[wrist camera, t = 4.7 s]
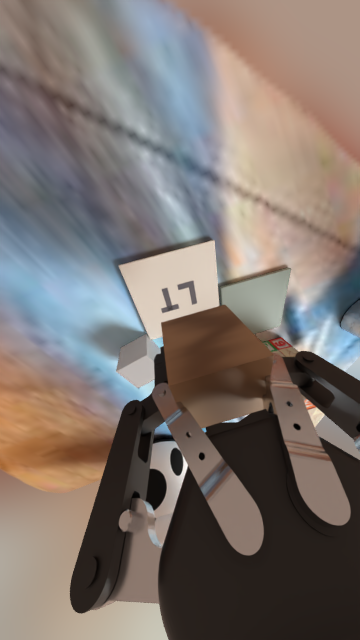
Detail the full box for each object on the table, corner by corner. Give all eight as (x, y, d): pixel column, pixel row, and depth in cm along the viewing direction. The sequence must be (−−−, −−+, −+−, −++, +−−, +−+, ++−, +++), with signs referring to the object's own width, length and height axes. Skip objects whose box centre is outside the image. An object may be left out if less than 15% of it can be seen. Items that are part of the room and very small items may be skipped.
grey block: (146, 333, 25) (146, 355, 21) (162, 351, 27) (165, 373, 23) (120, 347, 25) (116, 371, 21) (139, 363, 28) (137, 388, 24)
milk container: (188, 448, 53) (205, 536, 38) (140, 463, 52) (137, 560, 37) (180, 426, 44) (199, 532, 29) (120, 444, 43) (107, 564, 28)
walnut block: (225, 304, 13) (274, 354, 8) (228, 351, 16) (264, 409, 11) (160, 322, 13) (168, 386, 8) (176, 366, 16) (188, 432, 11)
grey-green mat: (288, 267, 23) (291, 268, 23) (277, 324, 29) (279, 326, 29) (219, 286, 23) (221, 288, 22) (223, 340, 29) (224, 342, 28)
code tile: (212, 239, 19) (214, 240, 19) (219, 317, 26) (220, 319, 25) (119, 264, 19) (118, 265, 18) (150, 337, 25) (150, 340, 25)
